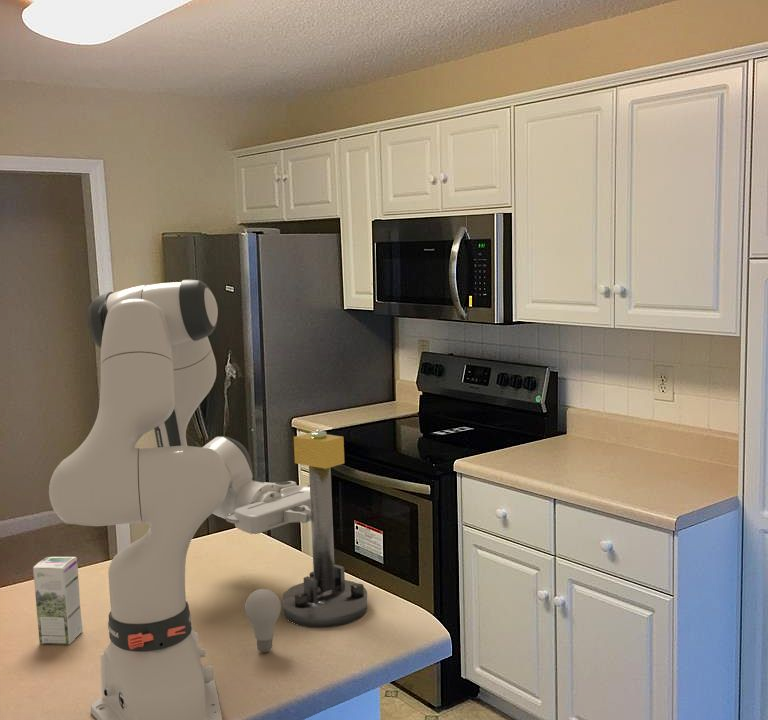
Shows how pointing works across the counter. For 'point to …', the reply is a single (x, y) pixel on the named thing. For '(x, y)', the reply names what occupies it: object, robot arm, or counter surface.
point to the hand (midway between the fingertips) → (310, 517)
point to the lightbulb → (263, 616)
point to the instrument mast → (321, 499)
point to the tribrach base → (325, 602)
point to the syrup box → (57, 600)
